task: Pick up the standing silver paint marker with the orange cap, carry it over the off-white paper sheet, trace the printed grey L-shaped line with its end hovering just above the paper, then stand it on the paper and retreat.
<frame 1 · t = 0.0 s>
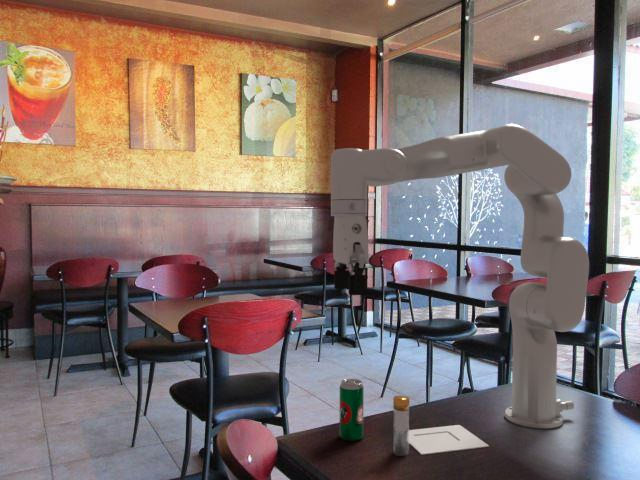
hand: (348, 291, 116), 31 cm above the table, fingers open, 9 cm apart
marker: (401, 452, 111), on the table
soda can: (351, 438, 119), on the table
paper: (441, 439, 118), on the table
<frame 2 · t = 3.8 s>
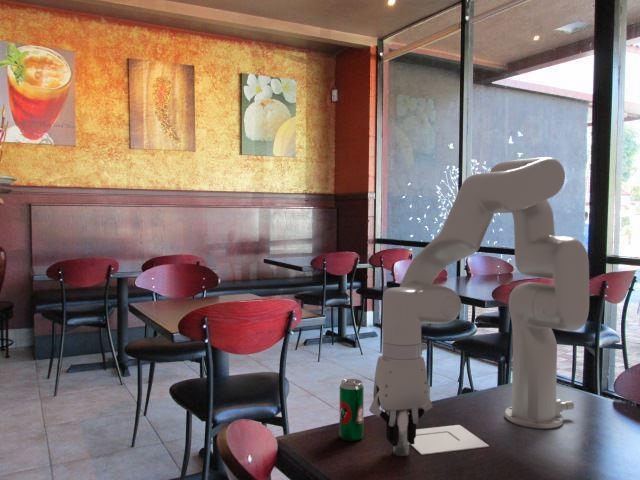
hand: (401, 441, 111), 2 cm above the table, fingers closed on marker, 3 cm apart
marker: (401, 452, 111), on the table, touching gripper
everything else where it was.
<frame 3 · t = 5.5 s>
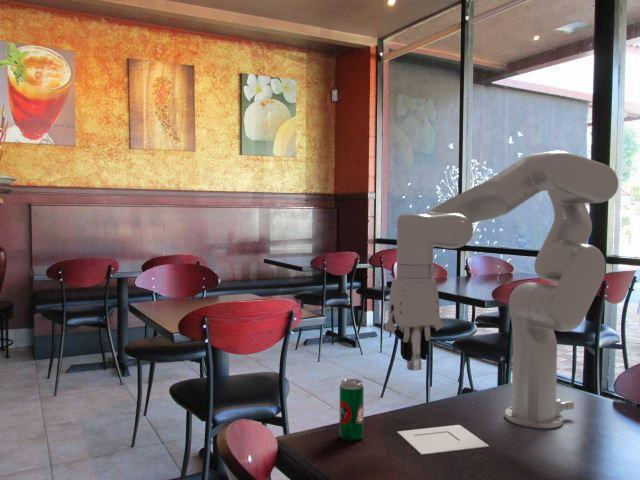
hand: (414, 358, 119), 17 cm above the table, fingers closed on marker, 3 cm apart
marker: (414, 368, 119), point 15 cm above the table, touching gripper
everything else where it was.
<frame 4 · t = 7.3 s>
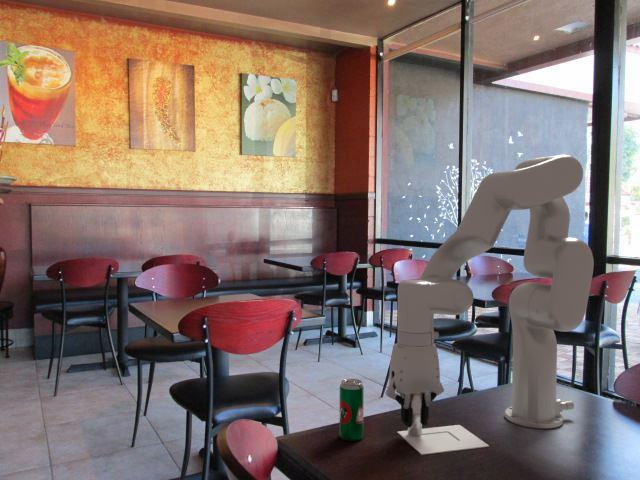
hand: (414, 423, 119), 3 cm above the table, fingers closed on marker, 3 cm apart
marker: (414, 433, 119), point 1 cm above the table, touching gripper
everything else where it was.
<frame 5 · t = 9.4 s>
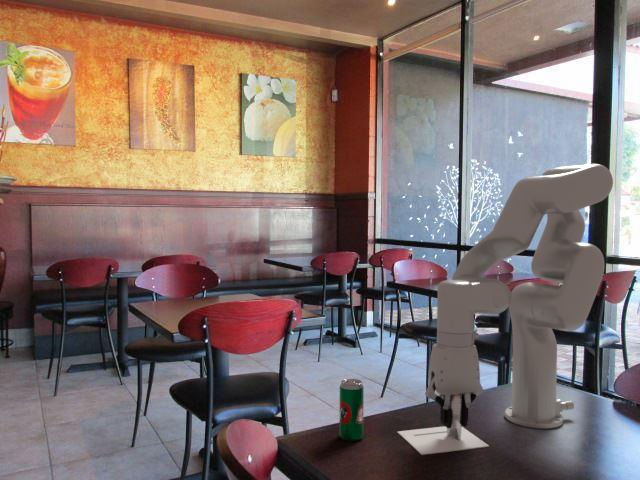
hand: (454, 424, 119), 3 cm above the table, fingers closed on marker, 3 cm apart
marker: (454, 434, 119), point 1 cm above the table, touching gripper
everything else where it was.
when the fingers open (3 cm above the table, at t = 11.0 s): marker stays where it is, resting on paper.
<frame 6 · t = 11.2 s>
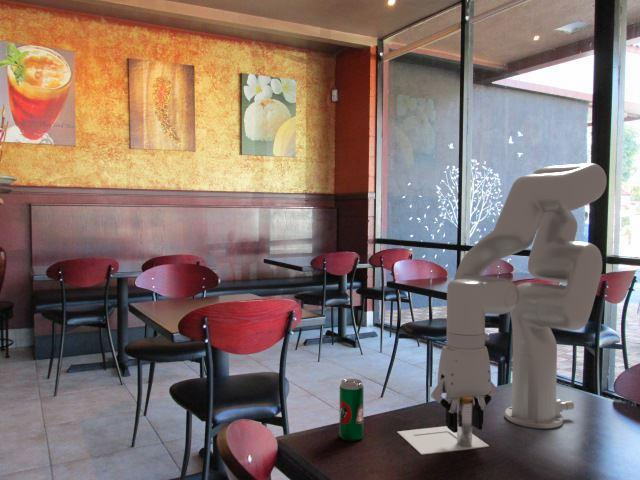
hand: (464, 427, 115), 4 cm above the table, fingers open, 4 cm apart
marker: (464, 444, 115), resting on paper
everything else where it was.
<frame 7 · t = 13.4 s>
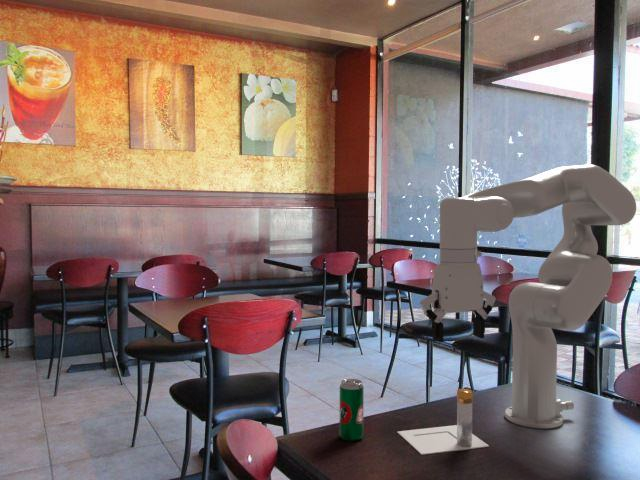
hand: (458, 338, 117), 21 cm above the table, fingers open, 9 cm apart
nothing on the table moved.
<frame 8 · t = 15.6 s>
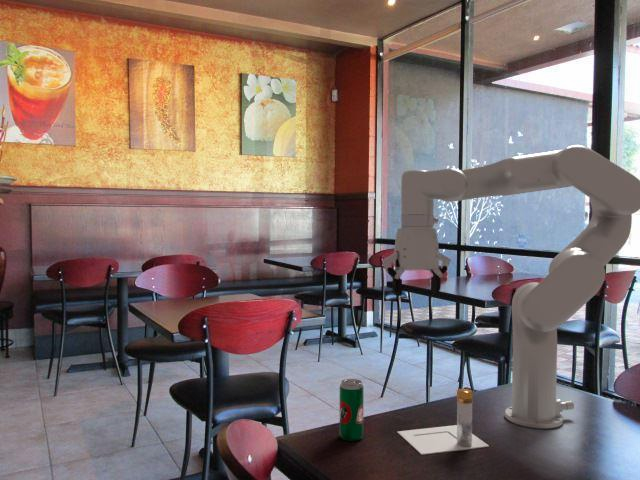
hand: (416, 294, 134), 28 cm above the table, fingers open, 9 cm apart
nothing on the table moved.
at the end: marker inside the target area on the paper (5.0 cm from its centre), point 0.2 cm above the paper's base; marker moved 14.0 cm from its start; the gripper is holding nothing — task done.
